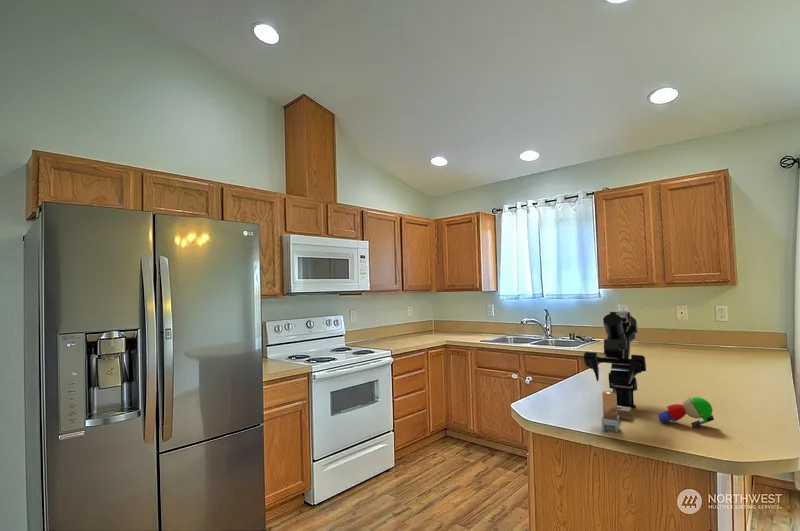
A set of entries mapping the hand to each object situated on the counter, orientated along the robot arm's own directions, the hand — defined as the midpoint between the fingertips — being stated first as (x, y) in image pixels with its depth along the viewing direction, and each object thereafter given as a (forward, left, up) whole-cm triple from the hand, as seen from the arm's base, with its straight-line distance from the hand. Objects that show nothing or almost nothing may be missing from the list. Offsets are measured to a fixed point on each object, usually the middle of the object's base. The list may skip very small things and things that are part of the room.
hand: (612, 382), depth 139 cm
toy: (-21, +2, -14) cm, 25 cm away
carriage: (+4, +7, -13) cm, 15 cm away
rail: (+1, +2, -13) cm, 14 cm away
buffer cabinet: (-4, -7, -13) cm, 16 cm away
